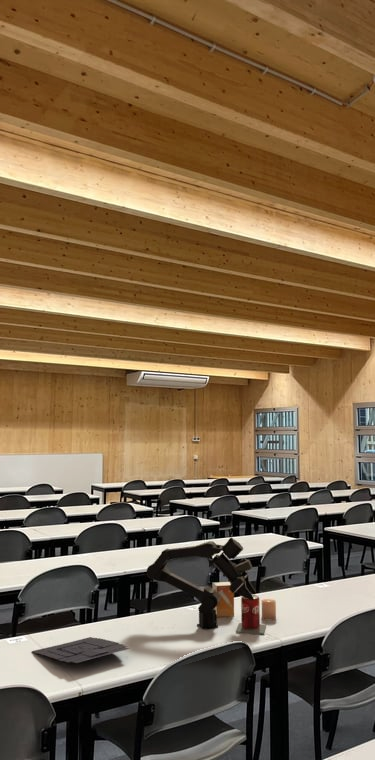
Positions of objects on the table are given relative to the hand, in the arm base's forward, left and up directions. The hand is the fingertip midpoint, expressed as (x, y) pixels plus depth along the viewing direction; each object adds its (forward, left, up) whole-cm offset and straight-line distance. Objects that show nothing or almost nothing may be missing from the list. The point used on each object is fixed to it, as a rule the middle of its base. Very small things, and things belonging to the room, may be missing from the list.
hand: (254, 596), depth 222 cm
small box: (+1, +24, -13) cm, 27 cm away
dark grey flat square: (-69, +7, -13) cm, 71 cm away
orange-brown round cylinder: (+15, +10, -13) cm, 22 cm away
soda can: (-1, +1, -12) cm, 12 cm away
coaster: (-1, +1, -13) cm, 13 cm away
